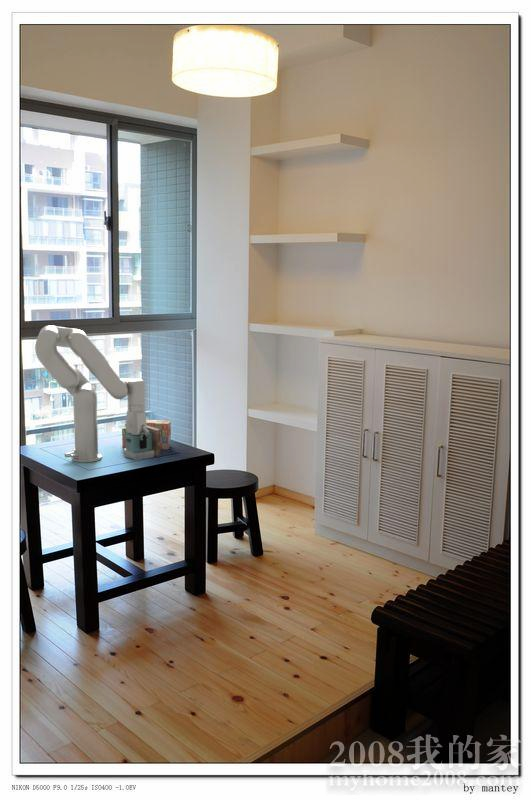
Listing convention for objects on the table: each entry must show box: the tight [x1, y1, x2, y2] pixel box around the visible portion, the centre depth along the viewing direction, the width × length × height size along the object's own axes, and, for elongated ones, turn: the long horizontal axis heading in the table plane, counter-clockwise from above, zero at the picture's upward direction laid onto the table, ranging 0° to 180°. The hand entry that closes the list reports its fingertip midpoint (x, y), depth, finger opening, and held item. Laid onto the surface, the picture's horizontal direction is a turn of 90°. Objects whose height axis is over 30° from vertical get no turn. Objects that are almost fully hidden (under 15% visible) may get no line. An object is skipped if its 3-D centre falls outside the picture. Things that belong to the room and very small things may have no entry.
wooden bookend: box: [122, 425, 161, 461], centre depth 327 cm, size 12×12×12 cm
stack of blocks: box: [121, 419, 172, 450], centre depth 341 cm, size 21×6×12 cm, turn 87°
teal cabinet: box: [125, 433, 152, 453], centre depth 326 cm, size 11×5×7 cm, turn 132°
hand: (137, 446), depth 326 cm, fingers open, 9 cm apart
